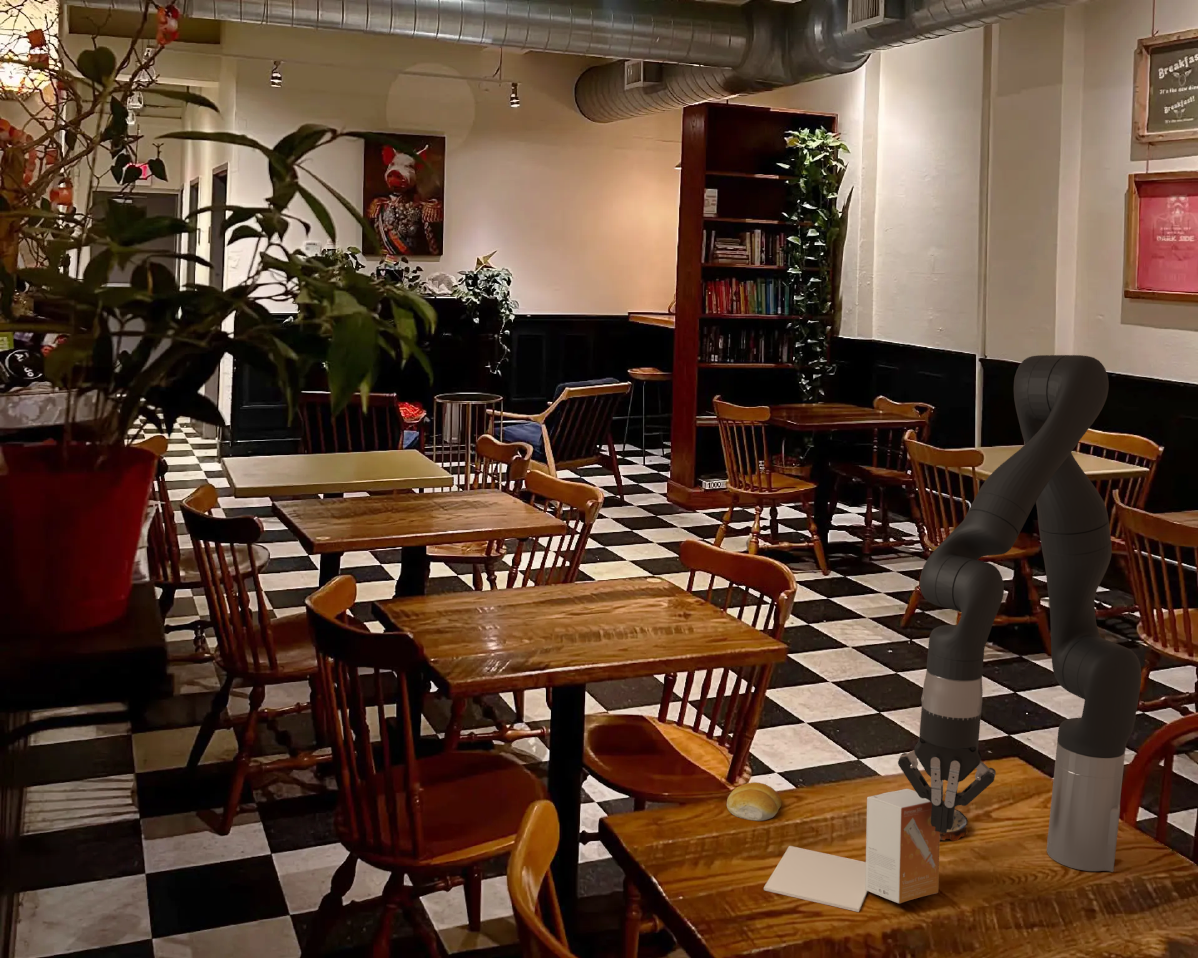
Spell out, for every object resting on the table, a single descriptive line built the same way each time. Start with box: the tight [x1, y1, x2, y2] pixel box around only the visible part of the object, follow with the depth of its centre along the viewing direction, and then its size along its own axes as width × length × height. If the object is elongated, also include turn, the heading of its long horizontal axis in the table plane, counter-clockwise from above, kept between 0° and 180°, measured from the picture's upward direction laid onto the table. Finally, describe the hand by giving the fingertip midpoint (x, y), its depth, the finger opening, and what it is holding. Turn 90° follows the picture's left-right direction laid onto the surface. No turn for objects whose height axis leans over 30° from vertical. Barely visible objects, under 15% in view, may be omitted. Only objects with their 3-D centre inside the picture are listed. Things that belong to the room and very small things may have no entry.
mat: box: [763, 845, 869, 913], centre depth 167 cm, size 13×14×1 cm
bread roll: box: [726, 781, 782, 822], centre depth 189 cm, size 8×9×4 cm
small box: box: [865, 788, 941, 904], centre depth 163 cm, size 8×6×13 cm
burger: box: [940, 789, 969, 842], centre depth 185 cm, size 12×12×8 cm
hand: (941, 829), depth 159 cm, fingers closed
